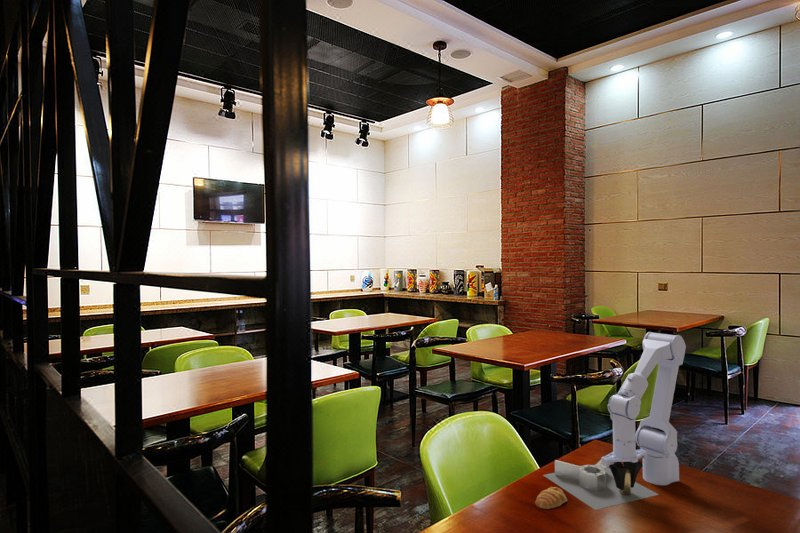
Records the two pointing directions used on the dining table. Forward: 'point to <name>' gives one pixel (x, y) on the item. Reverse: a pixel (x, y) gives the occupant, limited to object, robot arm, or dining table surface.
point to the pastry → (550, 498)
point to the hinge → (583, 474)
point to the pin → (627, 484)
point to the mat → (603, 497)
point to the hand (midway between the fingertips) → (625, 487)
